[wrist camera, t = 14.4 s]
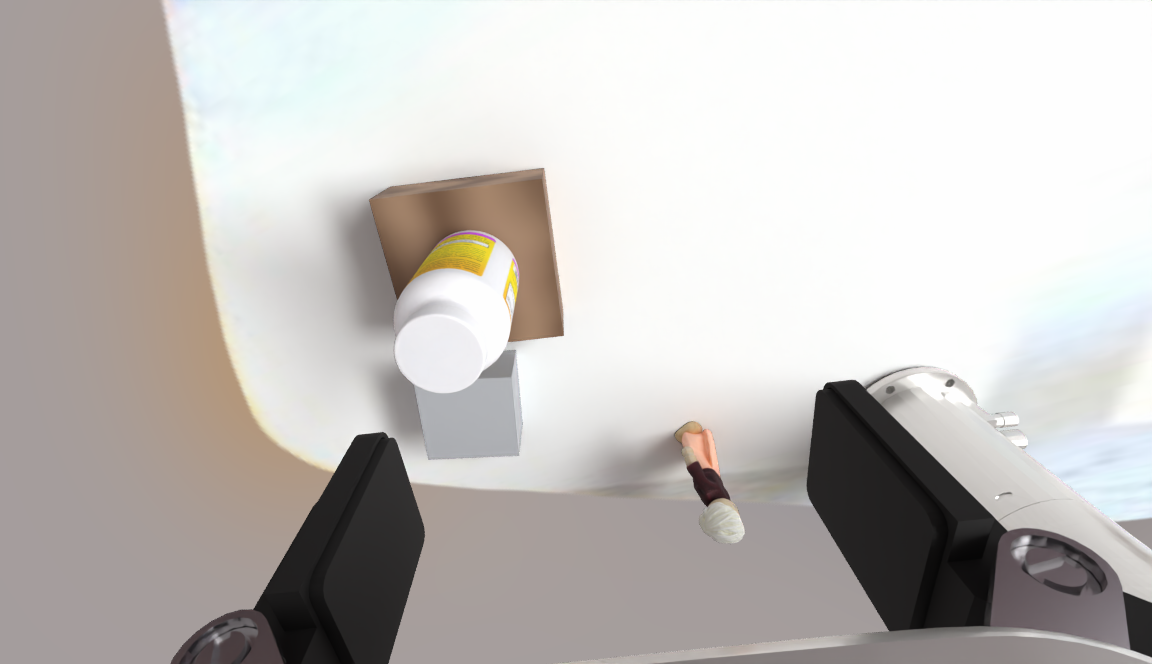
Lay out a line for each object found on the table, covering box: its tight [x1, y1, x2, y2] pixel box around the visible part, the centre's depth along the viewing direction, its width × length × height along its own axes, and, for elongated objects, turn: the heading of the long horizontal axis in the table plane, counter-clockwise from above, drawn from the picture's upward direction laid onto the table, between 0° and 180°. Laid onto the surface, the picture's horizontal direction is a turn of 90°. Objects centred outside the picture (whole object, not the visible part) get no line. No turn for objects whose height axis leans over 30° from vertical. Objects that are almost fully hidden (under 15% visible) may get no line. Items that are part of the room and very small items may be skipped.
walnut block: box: [369, 168, 564, 342], centre depth 40 cm, size 12×12×5 cm
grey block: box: [414, 350, 523, 460], centre depth 46 cm, size 8×8×5 cm
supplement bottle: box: [393, 230, 519, 393], centre depth 32 cm, size 7×7×13 cm
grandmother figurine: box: [675, 421, 745, 544], centre depth 46 cm, size 8×4×13 cm, turn 43°
